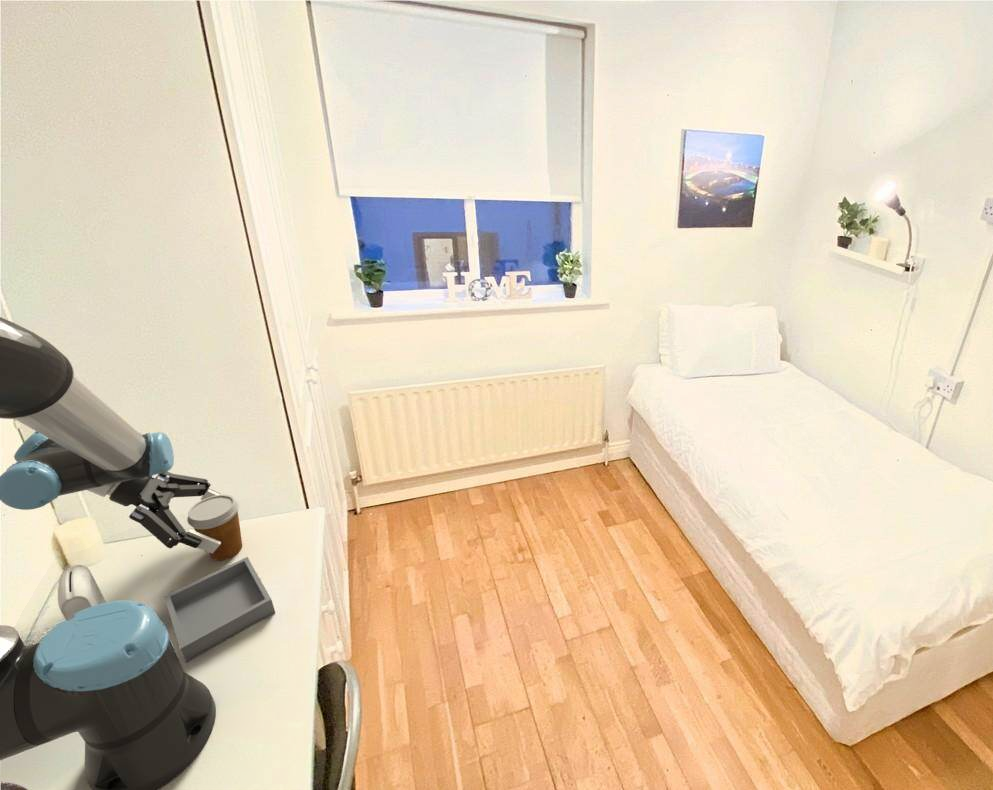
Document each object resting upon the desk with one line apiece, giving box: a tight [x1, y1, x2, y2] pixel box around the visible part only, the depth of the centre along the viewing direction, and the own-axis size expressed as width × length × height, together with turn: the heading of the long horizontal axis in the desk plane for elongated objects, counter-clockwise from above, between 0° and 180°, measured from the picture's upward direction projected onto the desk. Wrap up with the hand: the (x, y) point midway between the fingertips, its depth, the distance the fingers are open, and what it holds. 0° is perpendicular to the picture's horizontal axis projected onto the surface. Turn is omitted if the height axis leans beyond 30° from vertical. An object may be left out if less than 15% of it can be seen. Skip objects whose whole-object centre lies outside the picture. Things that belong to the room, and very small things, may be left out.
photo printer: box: [57, 564, 107, 621], centre depth 81 cm, size 10×4×12 cm, turn 39°
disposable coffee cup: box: [186, 494, 243, 562], centre depth 98 cm, size 10×10×12 cm
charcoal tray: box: [163, 556, 276, 663], centre depth 85 cm, size 15×15×4 cm
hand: (225, 526), depth 99 cm, fingers open, 13 cm apart
